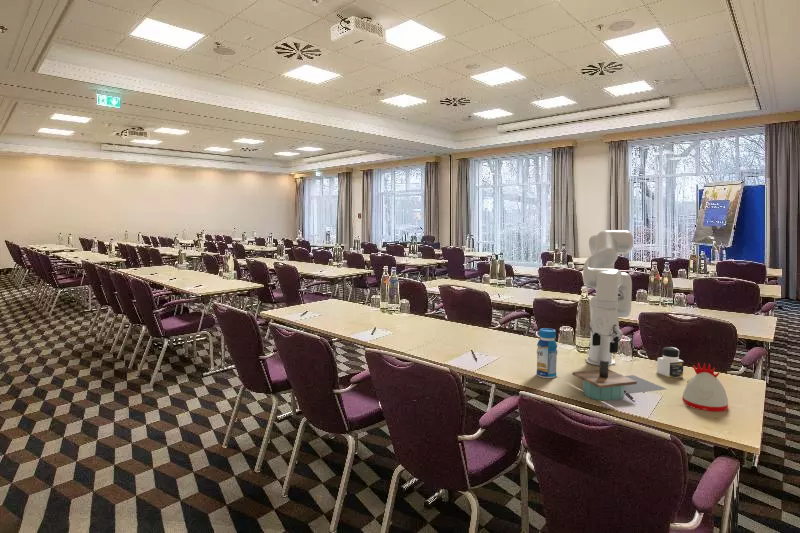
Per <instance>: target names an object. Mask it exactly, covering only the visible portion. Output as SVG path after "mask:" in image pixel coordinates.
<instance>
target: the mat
mask: <svg viewBox="0 0 800 533" xmlns="http://www.w3.org/2000/svg"><path fill="white" fill-rule="evenodd" d="M624 376H625V377H628V378H630V379H632V380H635V381H637V384H632V385H624V390H625V391H626V392H627V393H626V392H625V393H626V394H636V393H637V394H638V393H646V392H647V393H648V392H654V391H664V390H667V388H666V387H663V386H661V385H660V384H659V385H658V384H656V383H654V382H652V381H648V380H646V379H644V378H643V377H639V376H637V375H634V374H631V375H624Z"/></svg>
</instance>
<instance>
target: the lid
mask: <svg viewBox="0 0 800 533" xmlns="http://www.w3.org/2000/svg"><path fill="white" fill-rule="evenodd" d="M608 364H609V361H606V360H600V366H599V369H592V370H580V371H572V373H571V374H572V376H574V377H576V378H578V379H581V380H582V381H583V380H584V381H586V382H588V383H590V384H592V385H594V386H596V387H598V388H605V387H614V386H623V385H632V384H637V381H635V380H632V379H630V378H628V377H625V376H626V375H623V374H621V373H619V372H616V371H614V370H611V369H609V366H608Z"/></svg>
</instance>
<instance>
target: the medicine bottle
mask: <svg viewBox="0 0 800 533" xmlns="http://www.w3.org/2000/svg"><path fill="white" fill-rule="evenodd" d="M679 356H680V350H679V349H678V348H677V347H673V346H665V347H663V348H662V357H657V358H656V359H657V361H656V362H657V365H656V373H657V374H660V375H662V376H665V377H667V378H673V379H674V378H675V379H677V378H683V376H684V360H682V359H680V357H679Z"/></svg>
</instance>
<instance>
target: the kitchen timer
mask: <svg viewBox="0 0 800 533" xmlns="http://www.w3.org/2000/svg"><path fill="white" fill-rule="evenodd" d="M692 366H693V367H692V368H693V370H694V372H695V374H694V375H693V376H692V377H691V378H690V379H688V380H686V385H685V388H684V390H683V392H682V401H683V402H684V403H685V405H686V406H688V407H691V408H693V409H698V410H701V411H706V412H725V411H727V410H728V408H729V401H728V396H727V393H726V390H725V387H724V385H723V383H722V382H721V381H720V379H719V378H718V376H719V375H720V371H718V372H717V373H715V370H716V367H713V368H711V364H710V363H709V364H708V366H707V368H706V363H705V362H704V363H703V366H702V368H701V365H700V362H697V367H696V366H695V365H694V364H693V365H692Z"/></svg>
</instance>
